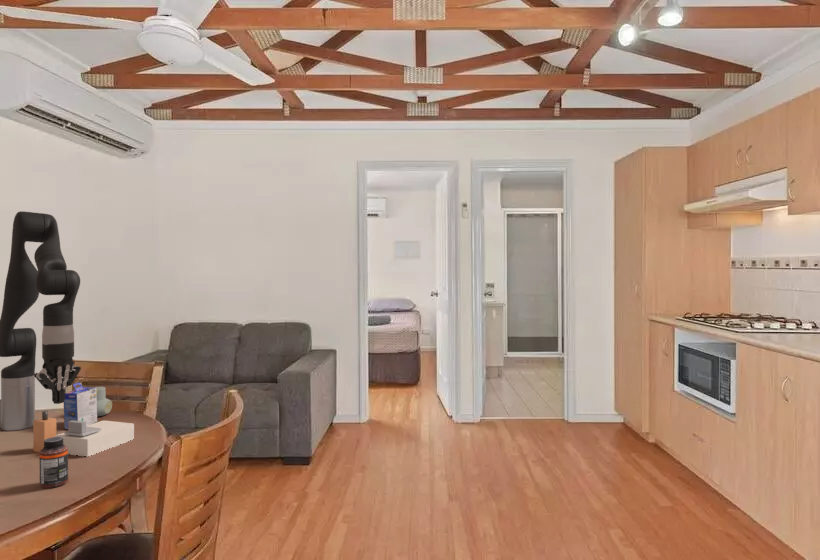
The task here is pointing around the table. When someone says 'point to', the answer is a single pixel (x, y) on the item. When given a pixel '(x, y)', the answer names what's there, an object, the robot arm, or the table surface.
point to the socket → (99, 438)
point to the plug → (43, 430)
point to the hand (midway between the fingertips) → (58, 403)
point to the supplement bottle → (53, 463)
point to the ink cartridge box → (80, 405)
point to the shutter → (80, 429)
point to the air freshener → (102, 402)
